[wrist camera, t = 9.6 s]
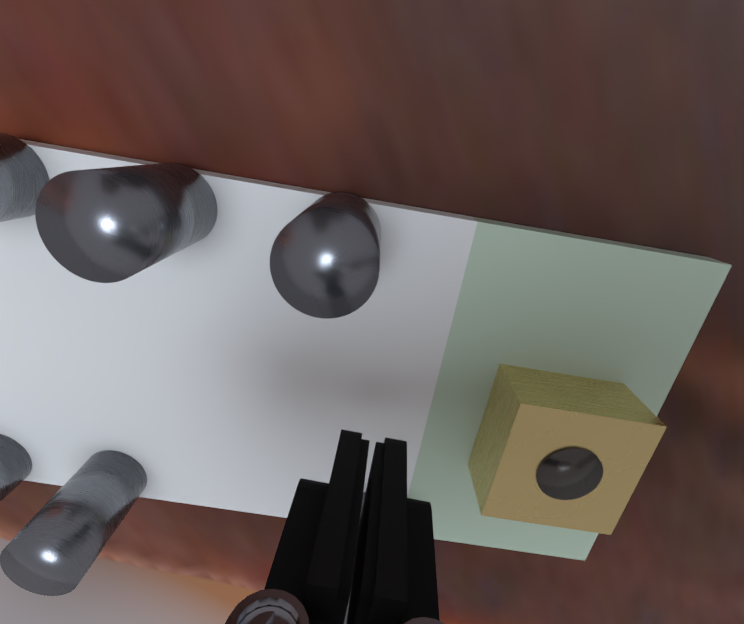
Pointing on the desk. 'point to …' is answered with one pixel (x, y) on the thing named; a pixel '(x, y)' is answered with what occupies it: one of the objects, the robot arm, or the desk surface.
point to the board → (325, 351)
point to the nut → (560, 449)
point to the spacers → (124, 259)
